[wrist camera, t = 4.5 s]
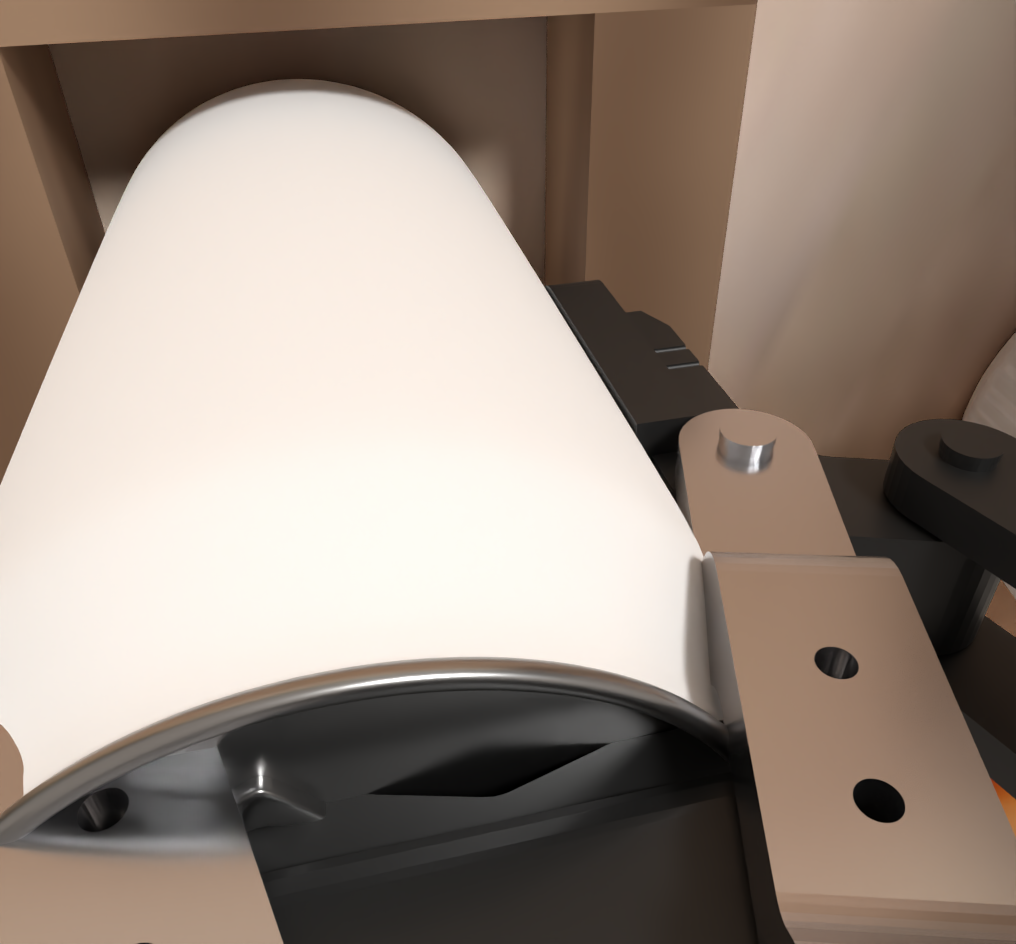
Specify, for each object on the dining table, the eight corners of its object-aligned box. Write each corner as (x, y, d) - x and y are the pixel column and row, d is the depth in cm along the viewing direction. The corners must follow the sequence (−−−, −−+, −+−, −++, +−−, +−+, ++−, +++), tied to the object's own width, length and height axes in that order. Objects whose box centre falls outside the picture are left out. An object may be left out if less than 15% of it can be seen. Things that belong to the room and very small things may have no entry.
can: (319, 477, 18) (377, 1193, 8) (31, 263, 14) (-451, 1111, 5) (561, 271, 16) (963, 860, 7) (308, -29, 13) (426, 352, 3)
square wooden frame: (704, -203, 13) (786, -212, 11) (642, 473, 20) (683, 541, 18) (-235, -191, 11) (-349, -202, 9) (78, 560, 18) (55, 649, 16)
